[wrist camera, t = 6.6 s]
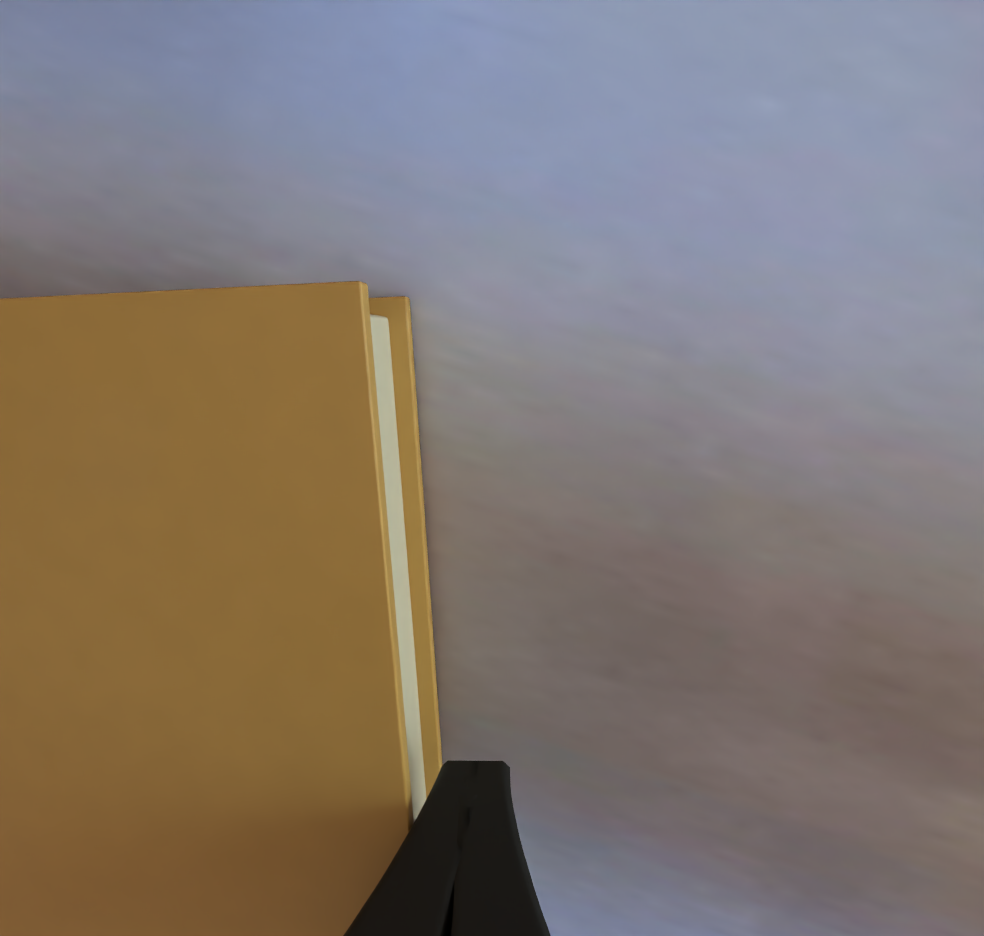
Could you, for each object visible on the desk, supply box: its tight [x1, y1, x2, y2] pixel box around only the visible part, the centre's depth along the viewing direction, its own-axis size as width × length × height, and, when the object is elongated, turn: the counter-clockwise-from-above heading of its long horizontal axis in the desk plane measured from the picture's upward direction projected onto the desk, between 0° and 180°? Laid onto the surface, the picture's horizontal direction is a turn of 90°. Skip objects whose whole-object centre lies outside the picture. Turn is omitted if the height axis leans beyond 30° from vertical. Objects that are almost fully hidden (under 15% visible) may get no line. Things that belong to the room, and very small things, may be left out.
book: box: [0, 281, 442, 936], centre depth 10 cm, size 17×12×3 cm
